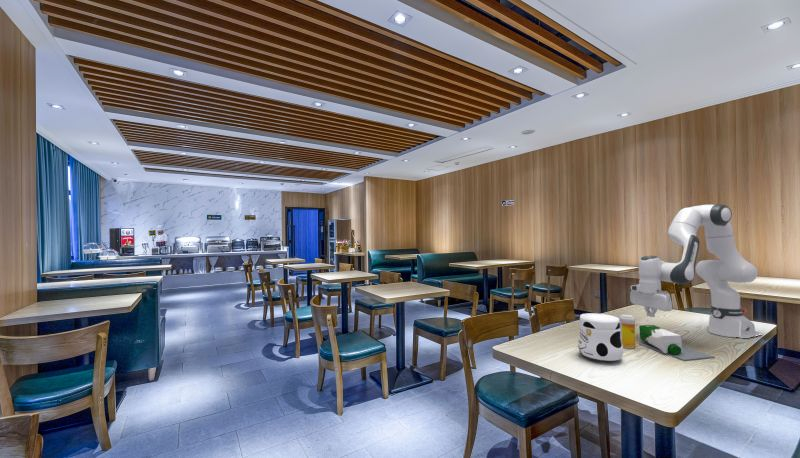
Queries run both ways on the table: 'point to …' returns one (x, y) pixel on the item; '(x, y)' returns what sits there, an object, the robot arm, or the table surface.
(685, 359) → the mat
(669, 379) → the table surface
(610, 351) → the milk container
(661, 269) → the robot arm
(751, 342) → the table surface
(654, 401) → the table surface
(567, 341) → the table surface
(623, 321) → the beer can
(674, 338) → the white carton
